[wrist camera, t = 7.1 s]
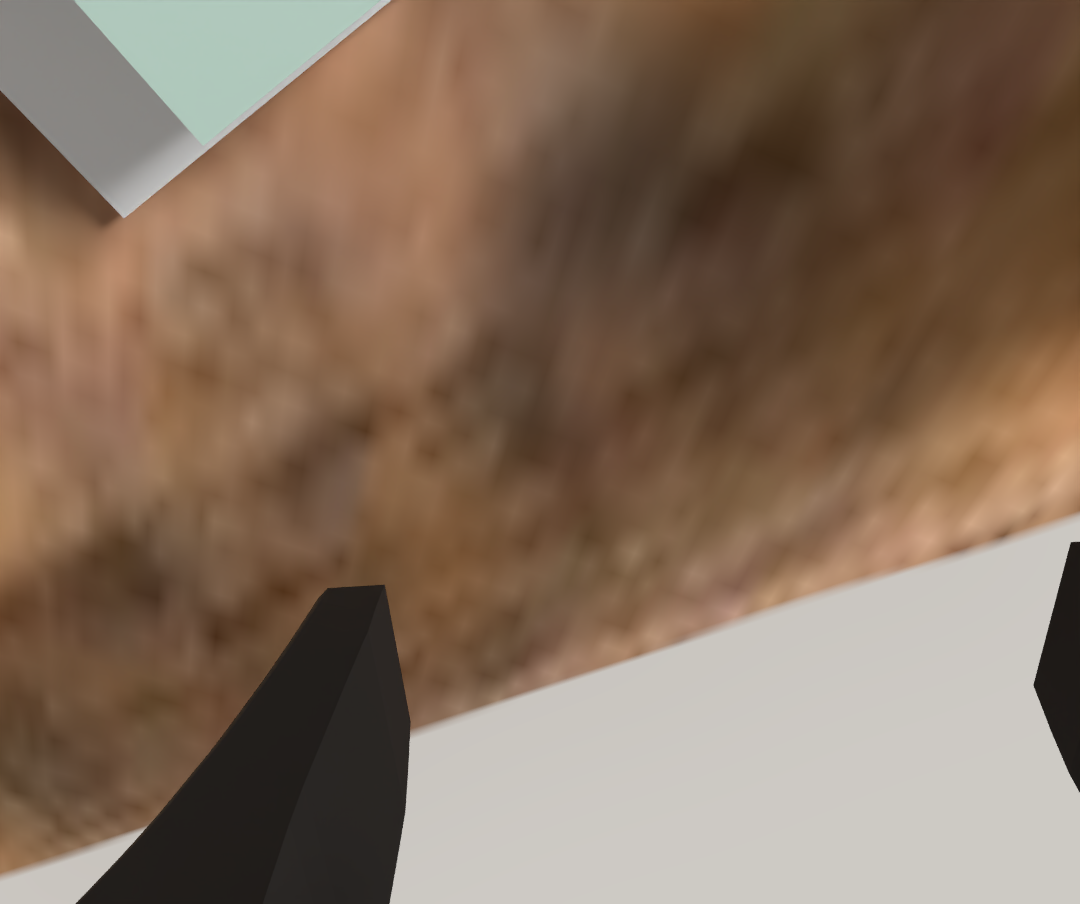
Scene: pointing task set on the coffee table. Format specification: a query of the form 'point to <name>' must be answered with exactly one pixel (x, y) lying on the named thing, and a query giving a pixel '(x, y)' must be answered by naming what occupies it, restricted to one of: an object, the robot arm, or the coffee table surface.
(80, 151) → the dock
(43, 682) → the coffee table surface
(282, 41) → the pale green block
